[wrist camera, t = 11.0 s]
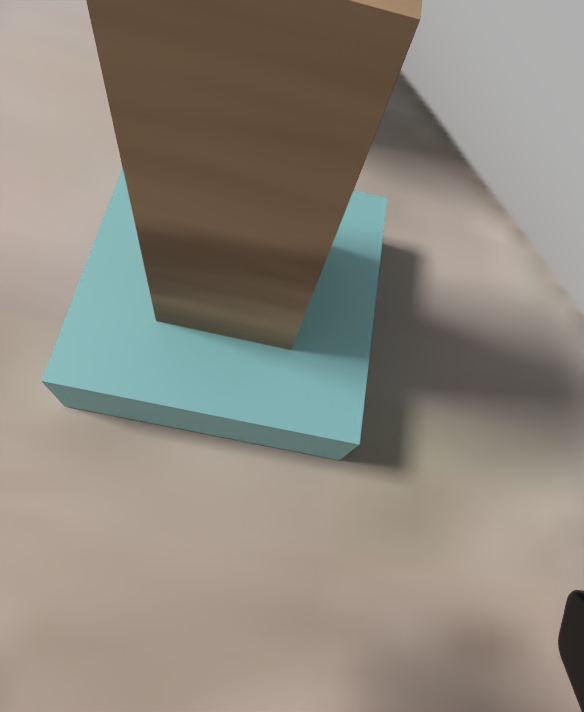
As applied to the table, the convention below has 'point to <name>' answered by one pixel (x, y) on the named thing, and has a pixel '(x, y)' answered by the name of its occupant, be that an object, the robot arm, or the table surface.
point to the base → (223, 347)
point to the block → (245, 144)
